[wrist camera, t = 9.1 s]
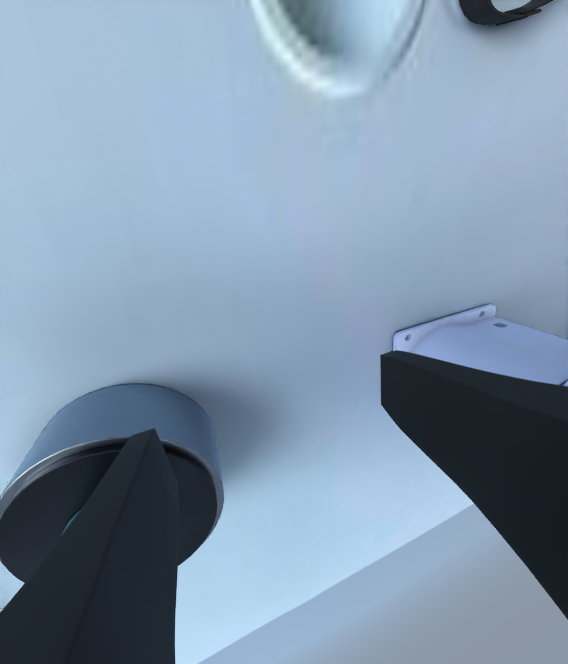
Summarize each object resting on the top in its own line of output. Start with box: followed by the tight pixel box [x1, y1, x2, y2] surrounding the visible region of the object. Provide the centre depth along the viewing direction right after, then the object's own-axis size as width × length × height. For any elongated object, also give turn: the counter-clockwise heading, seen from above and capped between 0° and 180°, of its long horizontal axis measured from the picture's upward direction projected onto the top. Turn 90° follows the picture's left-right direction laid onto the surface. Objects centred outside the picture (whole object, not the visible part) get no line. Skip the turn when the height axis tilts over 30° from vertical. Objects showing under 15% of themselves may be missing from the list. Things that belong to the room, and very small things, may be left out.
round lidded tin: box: [0, 384, 224, 583], centre depth 16 cm, size 10×10×5 cm
